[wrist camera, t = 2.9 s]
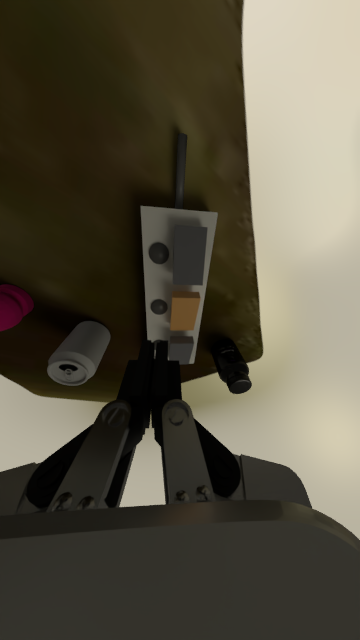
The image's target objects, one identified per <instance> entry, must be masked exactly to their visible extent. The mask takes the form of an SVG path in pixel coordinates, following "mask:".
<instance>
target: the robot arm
mask: <svg viewBox="0 0 360 640" xmlns="http://www.w3.org/2000/svg"><path fill="white" fill-rule="evenodd" d="M150 414H151V416H152V428H154V432H155V433H154V434H155V440H156V441H157V442H158V444H159V445H160V446H161V452H162V465H163V477H164V489H165V501H166V504H165V505H150V506H134V507H119V505H120V502H121V499H122V495H123V491H124V488H125V484H126V481H127V477H128V474H129V470H130V467H131V462H132V460H133V456H134V453H135V449H136V445H137V444H138V443H139V442H140V441H141V440H142V437H143V435H144V434H145V428H149V424H150ZM0 640H360V540H359V539H358V538H357V537H356V536H355V535H354V534H353V533H352V532H350V531H349V530H348V529H346V528H345V527H344V526H343V525H341V524H340V523H338V522H336V521H335V520H333V519H332V518H330V517H328V516H326V515H325V514H323V513H321V512H319V511H317V510H314V509H312V506H311V504H310V501H309V498H308V495H307V492H306V490H305V488H304V485H303V484H302V481H301V480H300V478H299V477H298V476H297V475H296V473H295V472H293V471H292V470H291V469H290V468H288V467H286V466H284V465H281V464H277V463H273V462H269V461H265V460H261V459H257V458H253V457H250V456H245V455H242V454H241V455H240V456H238V455H234V454H232V453H231V452H230V451H229V450H228V449H227V448H226V447H225V446H224V445H223V444H222V443H220V442H219V441H218V440H217V439H216V438H215V437H214V436H213V435H212V434H211V433H210V432H209V431H207V430H206V429H205V428H204V427H203V426H202V425H201V424H200V423H199V422H198V421H197V420H195V419H194V418H193V415H192V411H191V408H190V406H189V405H188V404H187V403H186V402H185V401H183V400H182V394H181V379H180V364H179V361H178V360H168V340H160V342H157V345H156V354H155V344H154V342H151V340H143V341H142V345H141V349H140V353H139V357H138V360H129V362H128V365H127V368H126V371H125V374H124V377H123V380H122V383H121V387H120V390H119V393H118V396H117V399H116V400H114V401H111V402H110V403H108V404H106V405H105V406H104V407H103V408H102V410H101V411H100V413H99V415H98V416H97V418H96V420H95V422H94V424H92V425H91V426H89V427H88V428H87V429H85V430H84V431H83V432H81V433H80V434H79V435H77V436H76V437H75V438H73V439H72V440H71V441H70V442H68V443H67V444H65V445H64V446H63V447H61V448H60V449H59V450H57V451H56V452H55V453H54V454H52V455H51V456H49V457H48V458H47V459H46V460H44V461H43V462H41V463H38V464H36V463H30V464H27V465H23V466H20V467H16V468H13V469H9V470H6V471H3V472H0Z"/></svg>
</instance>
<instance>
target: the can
mask: <svg viewBox="0 0 360 640" xmlns="http://www.w3.org/2000/svg"><path fill="white" fill-rule="evenodd" d="M109 341H110V333H109V331H108V330H107V328H106V327H104V326H103V325H102V324H100V323H98V322H94V321H84V322H81V323H80V324H78V325H77V326H76V327H75V328H74V330H73V331H72V332H71V333H70V334H69V336H68V337H67V338H66V339H65V340H64V341H63V343H62V344H61V345H60V346H59V347H58V349H57V350H56V351H55V352H54V353H53V354H52V356H51V357H50V359H49V361H48V363H49V366H48V368H47V372H48V374H49V376H50V377H51V378H52V379H53V380H54V381H56V382H58V383H61V384H64V385H70V386H73V385H80V384H83V383H84V382H86V381H87V379H89V378H90V377H92V376H93V375H94V373H95V371H96V369H97V367H98V365H99V363H100V360H101V358H102V356H103V354H104V352H105V350H106V347H107V345H108V343H109Z"/></svg>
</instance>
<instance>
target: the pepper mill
mask: <svg viewBox="0 0 360 640" xmlns="http://www.w3.org/2000/svg"><path fill="white" fill-rule="evenodd" d="M33 307H34V303H33V300H32V298H31V297H30V295H29V294H28V293H27V292H25V291H24V290H23V289H21V288H19V287H17V286H14V285H9V284H4V285H0V331H3V330H6V329H9V328H11V327H13V326H15V325H17V324H18V323H19V322H20V321H21V320H22V317H23V316H25V315H26V314H28V313H29V312H31V311H32V310H33Z"/></svg>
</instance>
